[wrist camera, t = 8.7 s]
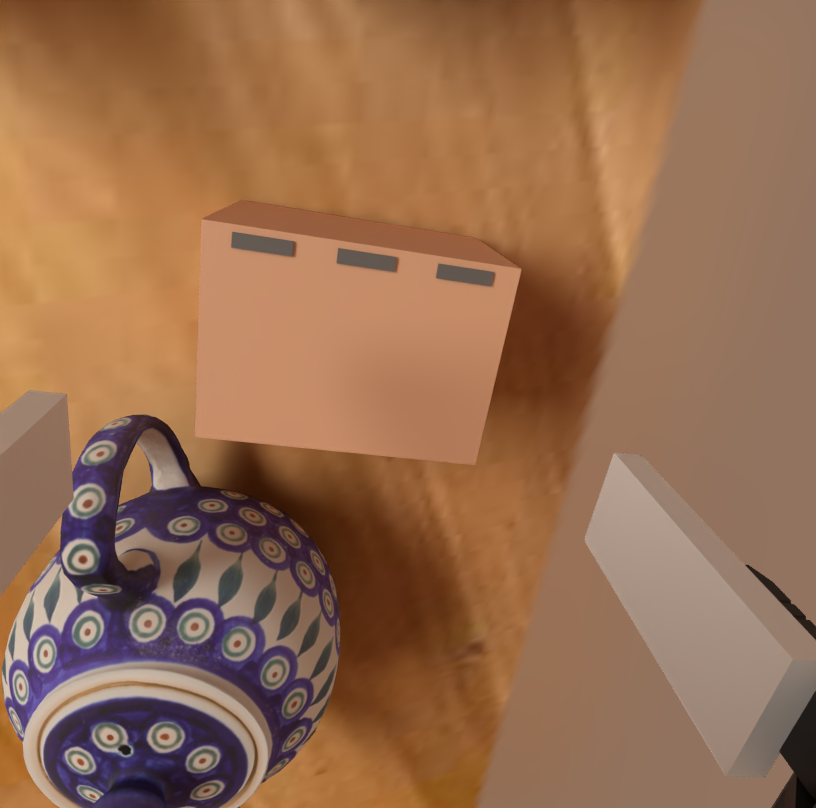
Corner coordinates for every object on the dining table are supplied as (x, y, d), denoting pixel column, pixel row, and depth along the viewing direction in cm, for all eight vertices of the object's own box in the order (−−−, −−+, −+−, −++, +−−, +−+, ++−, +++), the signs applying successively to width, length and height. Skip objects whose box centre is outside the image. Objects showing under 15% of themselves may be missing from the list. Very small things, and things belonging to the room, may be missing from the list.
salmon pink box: (241, 200, 27) (200, 219, 19) (475, 237, 28) (522, 269, 21) (232, 365, 30) (193, 438, 22) (444, 391, 31) (475, 466, 24)
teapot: (23, 369, 29) (-260, 557, 15) (328, 358, 30) (315, 522, 17) (122, 728, 39) (2, 1037, 25) (350, 708, 40) (353, 991, 26)
